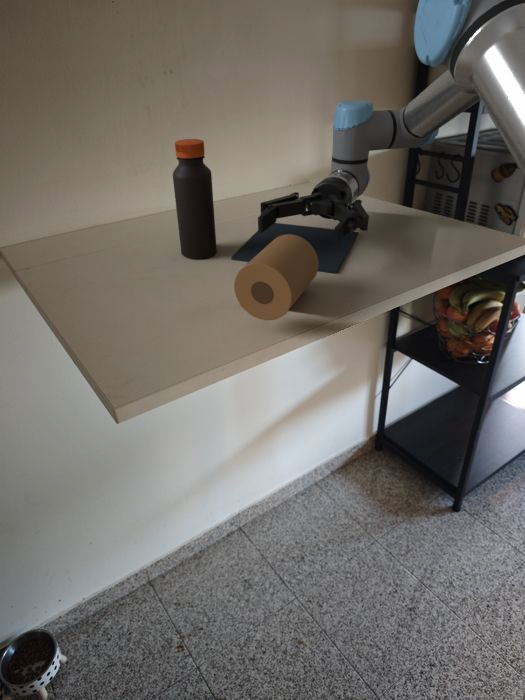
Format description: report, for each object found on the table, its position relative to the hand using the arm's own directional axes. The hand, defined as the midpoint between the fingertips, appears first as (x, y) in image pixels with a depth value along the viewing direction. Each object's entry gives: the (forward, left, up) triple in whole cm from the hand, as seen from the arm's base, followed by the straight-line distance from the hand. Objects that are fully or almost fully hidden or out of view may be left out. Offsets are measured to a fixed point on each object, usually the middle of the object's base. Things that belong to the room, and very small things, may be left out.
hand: (297, 230), depth 83 cm
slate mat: (+3, -11, -8) cm, 14 cm away
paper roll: (0, +12, -3) cm, 12 cm away
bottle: (+20, -2, -8) cm, 22 cm away
